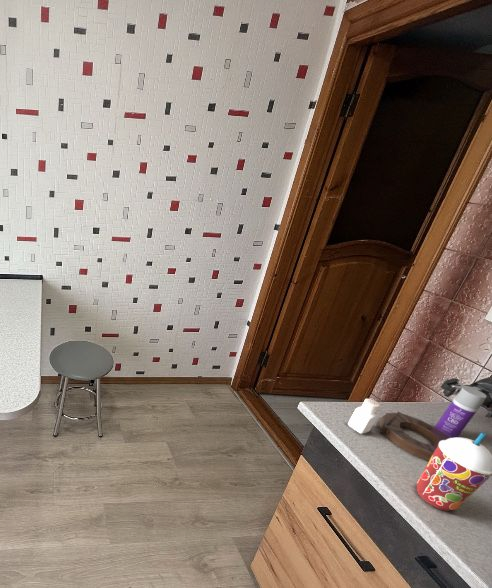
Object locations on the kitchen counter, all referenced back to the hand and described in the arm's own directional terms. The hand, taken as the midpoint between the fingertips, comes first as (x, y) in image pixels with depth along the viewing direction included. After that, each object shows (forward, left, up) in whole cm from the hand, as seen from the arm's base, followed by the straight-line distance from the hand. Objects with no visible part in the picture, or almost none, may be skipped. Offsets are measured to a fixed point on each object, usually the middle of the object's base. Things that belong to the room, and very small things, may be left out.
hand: (467, 403), depth 91 cm
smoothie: (-4, +33, -11) cm, 35 cm away
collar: (+4, +13, -10) cm, 18 cm away
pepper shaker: (+14, +23, -11) cm, 29 cm away
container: (0, +1, -11) cm, 11 cm away
